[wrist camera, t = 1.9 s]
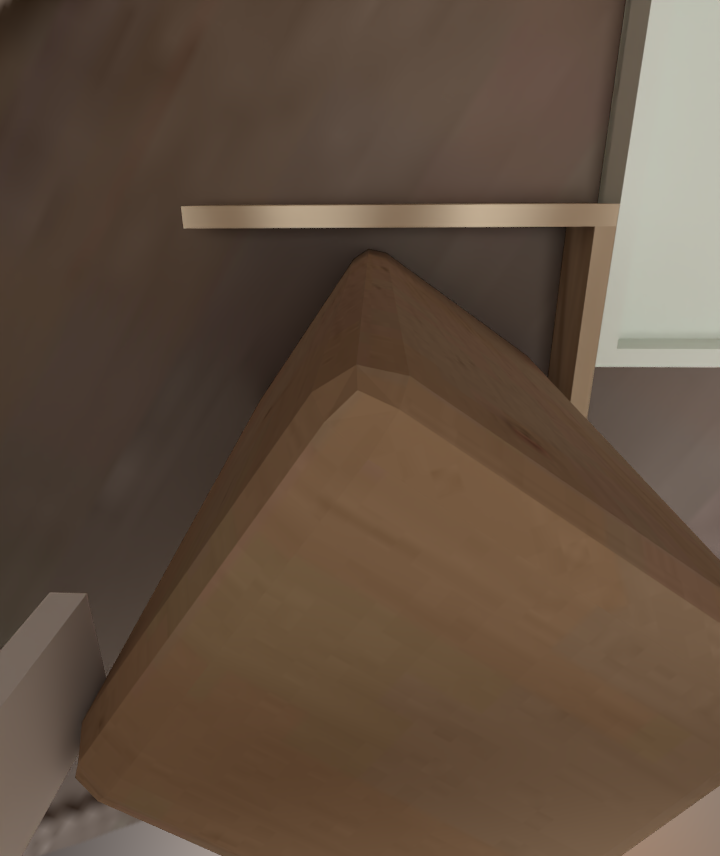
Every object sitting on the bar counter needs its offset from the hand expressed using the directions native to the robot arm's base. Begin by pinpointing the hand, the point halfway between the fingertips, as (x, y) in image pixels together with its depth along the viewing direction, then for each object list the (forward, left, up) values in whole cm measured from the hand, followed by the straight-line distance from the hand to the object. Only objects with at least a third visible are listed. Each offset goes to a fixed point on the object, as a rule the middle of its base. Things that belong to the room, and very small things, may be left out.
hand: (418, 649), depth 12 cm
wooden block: (0, 0, -18) cm, 18 cm away
